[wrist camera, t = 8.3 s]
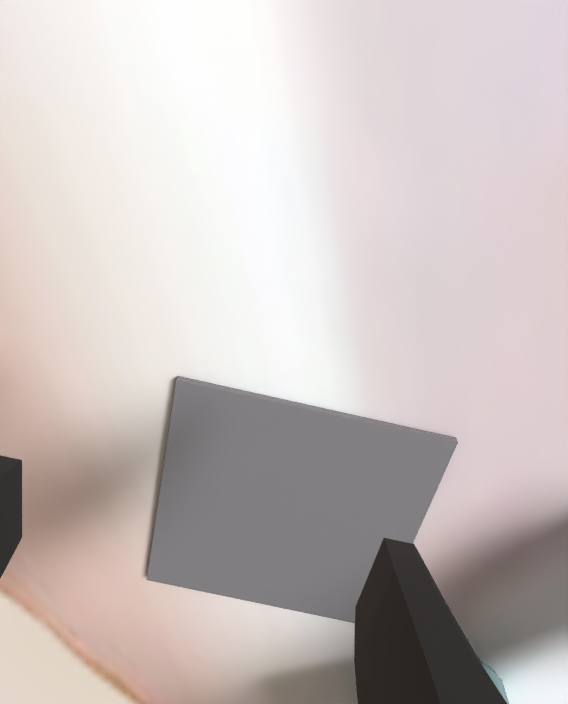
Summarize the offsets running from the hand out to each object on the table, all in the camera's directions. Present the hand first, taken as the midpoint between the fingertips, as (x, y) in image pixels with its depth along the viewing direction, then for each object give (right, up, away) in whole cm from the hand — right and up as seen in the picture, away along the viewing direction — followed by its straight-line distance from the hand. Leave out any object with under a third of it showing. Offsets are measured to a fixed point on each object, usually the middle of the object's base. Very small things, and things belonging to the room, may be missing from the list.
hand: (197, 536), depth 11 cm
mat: (+2, -3, +13) cm, 13 cm away
